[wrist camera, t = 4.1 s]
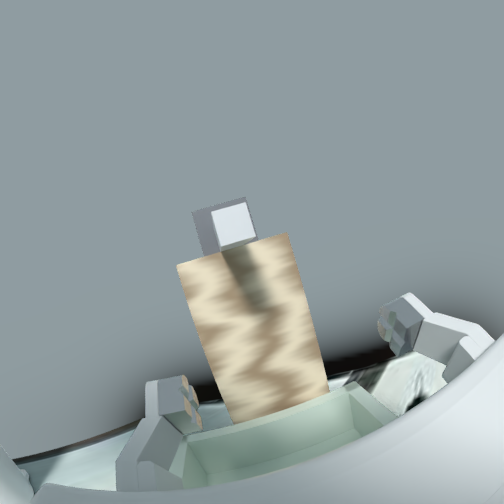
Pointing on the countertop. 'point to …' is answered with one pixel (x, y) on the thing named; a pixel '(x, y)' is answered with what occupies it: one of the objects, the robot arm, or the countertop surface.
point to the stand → (255, 327)
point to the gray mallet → (224, 226)
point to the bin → (279, 438)
